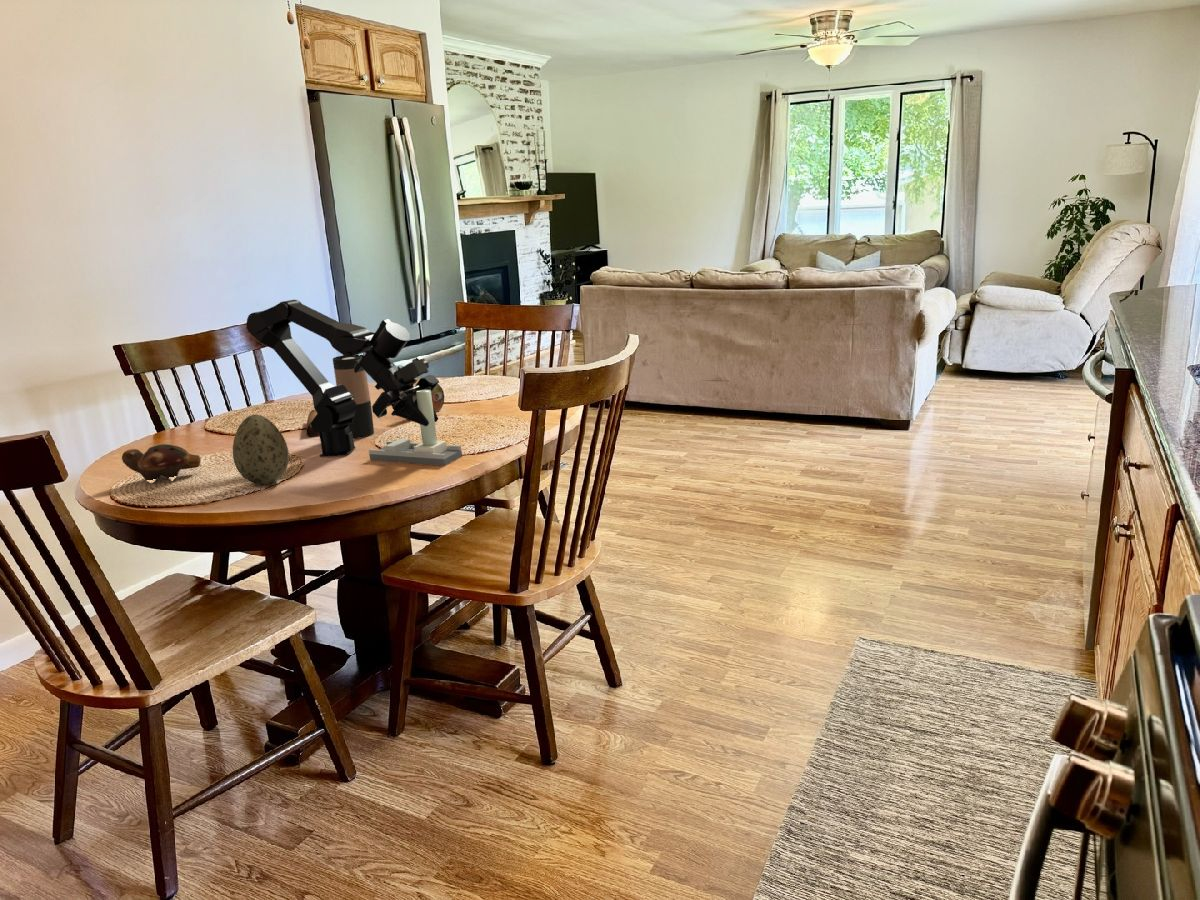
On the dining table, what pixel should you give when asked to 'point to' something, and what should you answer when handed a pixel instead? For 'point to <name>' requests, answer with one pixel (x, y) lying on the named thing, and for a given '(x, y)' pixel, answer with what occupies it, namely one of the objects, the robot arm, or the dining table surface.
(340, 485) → the dining table surface
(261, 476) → the decorative egg
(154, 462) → the decorative turtle
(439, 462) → the track
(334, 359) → the travel mug
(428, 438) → the slider with handle
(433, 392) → the mottled brown rounded slab
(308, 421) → the sunglasses case
